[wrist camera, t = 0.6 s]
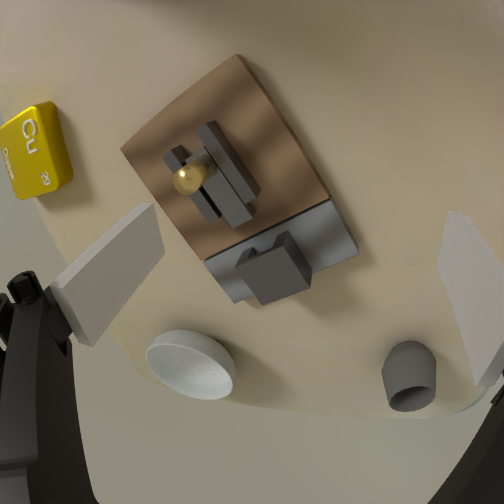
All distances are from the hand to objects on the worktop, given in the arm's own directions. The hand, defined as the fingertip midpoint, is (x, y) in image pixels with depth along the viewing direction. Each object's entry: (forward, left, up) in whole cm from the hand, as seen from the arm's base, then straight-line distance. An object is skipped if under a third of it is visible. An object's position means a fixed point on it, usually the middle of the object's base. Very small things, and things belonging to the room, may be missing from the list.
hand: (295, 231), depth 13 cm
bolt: (-1, -13, -23) cm, 26 cm away
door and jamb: (+2, -13, -25) cm, 28 cm away
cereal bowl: (+23, -38, -25) cm, 51 cm away
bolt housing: (+4, -13, -23) cm, 27 cm away
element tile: (-25, -40, -26) cm, 53 cm away
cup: (+38, -3, -25) cm, 46 cm away
